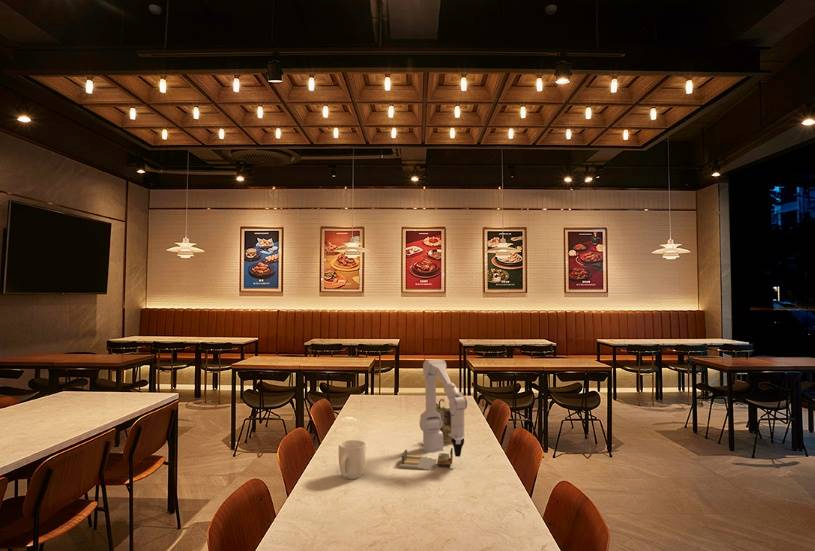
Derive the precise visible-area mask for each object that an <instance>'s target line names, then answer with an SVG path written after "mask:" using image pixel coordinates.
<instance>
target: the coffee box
mask: <svg viewBox="0 0 815 551" xmlns="http://www.w3.org/2000/svg"><path fill="white" fill-rule="evenodd" d="M439 414H440V415H441V421H442V427H441V429H439V430H441V431H442V433H443V443H451V444H452V442H451V439H452V437H450V436H449V434H451V413H450V407H445V408H441V410H439Z"/></svg>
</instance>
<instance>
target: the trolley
mask: <svg viewBox="0 0 815 551" xmlns="http://www.w3.org/2000/svg"><path fill="white" fill-rule="evenodd" d="M453 452H454V447H453V448H450V452H449V453H445V452H443V453H442V452H439V453H438V456H437V461H436V465H437V466H438V467H439V468H440V467H442V465H446V467H447V468H451V466H452V465H453V461H454V460H453V458H454V456H453V455H454V453H453Z"/></svg>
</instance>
